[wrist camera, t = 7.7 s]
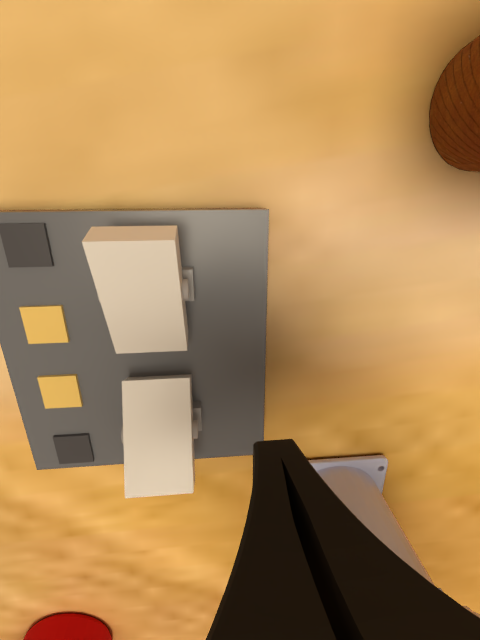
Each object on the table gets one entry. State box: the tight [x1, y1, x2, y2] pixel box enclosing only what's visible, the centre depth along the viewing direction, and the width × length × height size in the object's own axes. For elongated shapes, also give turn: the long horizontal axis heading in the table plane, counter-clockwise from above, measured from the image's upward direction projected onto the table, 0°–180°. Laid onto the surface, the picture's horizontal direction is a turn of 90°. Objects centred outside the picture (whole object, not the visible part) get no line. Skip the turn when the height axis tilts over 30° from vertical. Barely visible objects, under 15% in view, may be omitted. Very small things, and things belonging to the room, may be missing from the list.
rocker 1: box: [82, 225, 189, 354], centre depth 15 cm, size 6×4×2 cm, turn 179°
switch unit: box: [0, 208, 269, 470], centre depth 19 cm, size 15×14×3 cm
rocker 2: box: [121, 374, 198, 498], centre depth 18 cm, size 6×4×2 cm, turn 1°
